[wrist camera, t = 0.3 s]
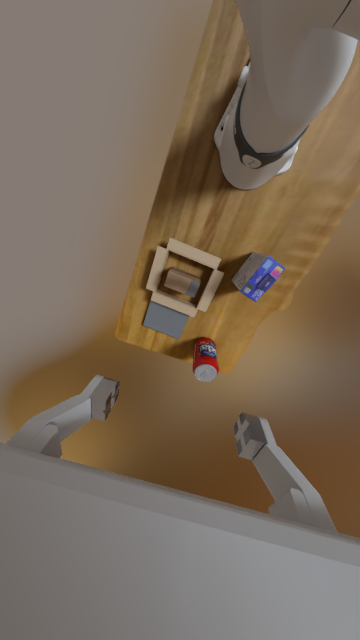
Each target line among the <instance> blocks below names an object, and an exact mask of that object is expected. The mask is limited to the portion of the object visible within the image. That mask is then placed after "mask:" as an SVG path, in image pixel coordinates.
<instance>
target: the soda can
mask: <svg viewBox="0 0 360 640" xmlns="http://www.w3.org/2000/svg"><path fill="white" fill-rule="evenodd" d="M218 372H219V366H218V359H217V352H216V345H215V343H214V341H213V340H211V339H210V338H200V339H198V340H197V341H196V342H195V345H194V356H193V373H194V374H195V376H196V378H197V379H199V380H200V381H203V382H209V381H212V380H214V379H215V378H216V376H217V374H218Z"/></svg>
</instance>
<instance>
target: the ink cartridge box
mask: <svg viewBox="0 0 360 640" xmlns="http://www.w3.org/2000/svg"><path fill="white" fill-rule="evenodd" d="M284 270H285V268H284V267H283V266H282V265H281V264H279V263H278V262H277V261H276V260H274V259H273V258H272V257H270V256H268V255H263V254H258V253H254V252H252V253H251V255H250V256H249V257H248V259H247V260H246V261H245V263H244V264H243V265H242V266H241V268H240V269H239V270H238V272H237V273H236V274H235V276H234V277H233V278H232V280H231V281H232V282H233V283H234V285H235V286H236V287H237V288H238V289H239V291H240V292H241V293H243V294H244V295H246V296H247V297H249V298H250V299H252V300H253V301H255V302H256V301H257V300H258V299H259V298H260V297H261V296H262V294H263V293H264V292H266V291H267V290H268V289H269V288H270V287H271V286H272V285H273V283H274V282H275V281H276V280H277V278H278V277H279V275H280V274H281V273H282V272H283V271H284Z"/></svg>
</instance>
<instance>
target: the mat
mask: <svg viewBox="0 0 360 640" xmlns="http://www.w3.org/2000/svg"><path fill="white" fill-rule="evenodd" d="M188 317H189V315H187V314H184V313H182V312H179V311H177V310H174V309H172V308H169V307H167V306H164V305H162V304H159V303H156V302H154V301H150V304H149V307H148V311H147V314H146V317H145V320H144V324H143V326H146V327H149V328H151V329H154V330H156V331H159V332H162V333H164V334H167V335H169V336H172V337H174V338H177V339H179V337H180V335H181V333H182V331H183V328H184V326H185V324H186V322H187V319H188Z"/></svg>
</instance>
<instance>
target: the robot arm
mask: <svg viewBox="0 0 360 640" xmlns="http://www.w3.org/2000/svg"><path fill="white" fill-rule="evenodd" d="M235 1H236V4H237V6H238V9H239V12H240V15H241V18H242V22H243V25H244V29H245V33H246V36H247V41H248V46H249V52H250V63H249V65H248V67H247V66H245V67H244V69H243V71H242V73H241V76H240V78H239V81H238V87H237V89H236V91H235V93H234V95H233V97H232V99H231V101H230V103H229V105H228V107H227V109H226V111H225V113H224V115H223V117H222V119H221V121H220V123H219V125H218V127H217V129H216V131H215V134H214V142H215V144H216V146H217V148H218V150H219V153H220V162H221V168H222V171H223V174H224V176H225V178H226V179H227V180H228V182H229V183H230V184H231V185H233V186H234V187H236V188H239V189H243V190H249V189H254V188H257V187H259V186H261V185H263V184H264V183H266V182H267V181H268V180H269V179H271V178H272V177H274V176H277V175H280V174H283V173H285V172H286V171H287V170H288V169H289V168H290V166H291V163H292V161H293V158H294V155H295V153H296V151H297V149H298V147H297V146H298V143H299V141H300V138H301V137H302V135H303V134H304V132H305V131H306V129H307V128H308V126H309V124H310V123H311V122H312V121H313V120H314V118H315V117H316V116H317V115H318V114H319V113H320V112H321V111H322V110H323V108H324V107H325V106H326V105H327V104H328V103H329V102H330V100H331V99H332V98H333V96H334V95H335V93H336V92H337V90H338V88H339V87H340V85H341V83H342V82H343V80H344V78H345V76H346V74H347V72H348V69H349V67H350V65H351V62H352V59H353V56H354V53H355V50H356V46H357V42H358V40H359V41H360V0H235ZM221 128H223V131H221ZM119 385H120V381H117V380H114V379H110V378H106V377H103V376H99V375H97V376H95V377H94V378H93V379H92V381H91V382H90V383H89V384H88V386H87V387H86V388H85V389H84V391H83V392H82V393H81V394H80V395H76V396H74V397H72V398H70V399H68V400H66V401H64V402H62V403H60V404H58V405H56V406H54V407H52V408H50V409H48V410H46V411H44V412H42V413H40V414H38V415H36V416H34V417H32V418H30V419H29V420H28V421H27V422H26V423H25V424H24V426H22V428H21V429H19V431H18V432H17V433H16V434H15V435H14V436H13V437H12V438H11V439H10V440H9V441H8V442H7V443H6V444H4V443H0V640H360V539H359V538H355V537H352V536H348V535H344V534H341V533H337V530H336V528H335V526H334V524H333V522H332V520H331V518H330V516H329V514H328V511H327V509H326V507H325V505H324V503H323V501H322V499H321V496H320V495H319V493H318V492H317V491H316V490H315V489H314V487H313V486H312V485H311V484H310V483H309V482H308V480H307V479H306V478H305V477H304V476H303V474H302V473H301V472H300V471H299V470H298V469H297V467H296V466H295V465H294V464H293V463H292V462H291V460H290V459H289V458H288V457H287V456H286V454H285V453H284V452H283V451H282V450H281V449H280V447H277V445H276V442H275V440H274V437H273V435H272V432H271V429H270V427H269V424H268V422H267V420H266V419H265V418H261V417H257V416H254V415H250V414H246V413H241V414H240V415H239V418H240V419H239V420H237V421H236V423H235V426H234V434H235V437H236V439H237V440H238V442H237V443H236V445H237V451H238V456H239V457H242V458H246V459H249V460H253V461H252V462H253V464H254V465H255V467H256V469H257V471H258V472H259V474H260V476H261V477H262V479H263V481H264V483H265V484H266V486H267V488H268V489H269V491H270V493H271V494H272V496H273V498H274V500H275V501H276V502H274V503H273V504H272V505H271V506H270V507H269V509H268V510H269V513H270V514H266V513H262V512H258V511H255V510H251V509H247V508H243V507H240V506H236V505H232V504H228V503H224V502H221V501H217V500H213V499H210V498H206V497H202V496H198V495H194V494H191V493H187V492H183V491H180V490H176V489H172V488H168V487H165V486H161V485H157V484H153V483H150V482H146V481H142V480H139V479H135V478H131V477H127V476H124V475H120V474H116V473H112V472H108V471H105V470H101V469H97V468H94V467H90V466H86V465H82V464H78V463H75V462H71V461H67V460H64V459H60V457H61V455H62V449H61V444H60V442H61V441H63V440H64V439H65V438H67V437H68V436H69V435H71V434H72V433H73V432H75V431H76V430H77V429H79V428H80V427H81V426H82V425H84V424H85V423H87V422H88V421H89V420H91V418H93V419H97V420H102V421H106V419H107V417H108V415H109V413H110V412H111V406H113V405H114V404H115V402H116V400H117V397H118V395H119V389H118V387H119Z"/></svg>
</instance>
